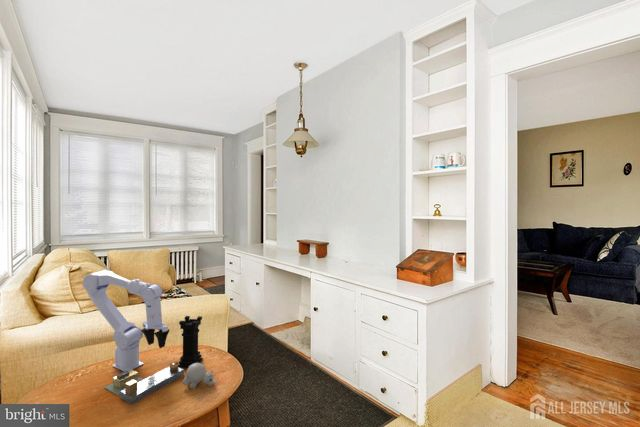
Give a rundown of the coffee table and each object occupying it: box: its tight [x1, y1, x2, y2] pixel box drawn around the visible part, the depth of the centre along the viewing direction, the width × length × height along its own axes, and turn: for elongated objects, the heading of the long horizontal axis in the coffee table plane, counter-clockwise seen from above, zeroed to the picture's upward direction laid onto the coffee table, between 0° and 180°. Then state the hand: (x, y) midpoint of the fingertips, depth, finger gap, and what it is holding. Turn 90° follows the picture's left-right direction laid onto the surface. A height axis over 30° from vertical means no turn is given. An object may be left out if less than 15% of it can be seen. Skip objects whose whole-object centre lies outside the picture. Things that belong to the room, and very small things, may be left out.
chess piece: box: [178, 315, 204, 369], centre depth 145 cm, size 8×8×20 cm
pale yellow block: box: [112, 369, 139, 390], centre depth 128 cm, size 7×4×4 cm, turn 152°
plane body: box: [119, 361, 185, 405], centre depth 128 cm, size 22×7×6 cm, turn 152°
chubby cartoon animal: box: [182, 362, 217, 390], centre depth 130 cm, size 7×12×8 cm, turn 89°
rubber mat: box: [103, 376, 145, 397], centre depth 129 cm, size 9×11×1 cm
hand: (156, 345), depth 140 cm, fingers open, 7 cm apart
